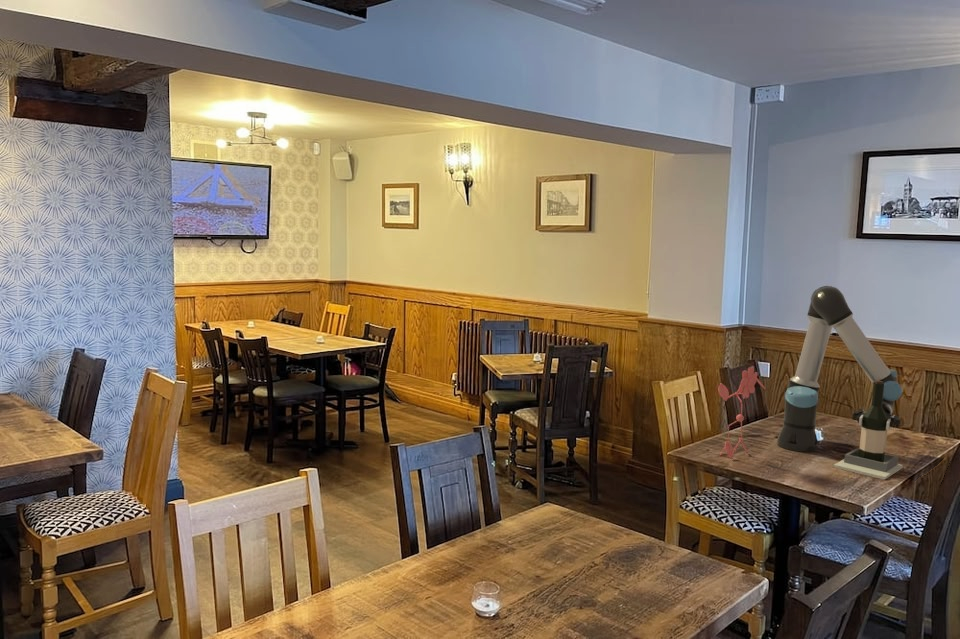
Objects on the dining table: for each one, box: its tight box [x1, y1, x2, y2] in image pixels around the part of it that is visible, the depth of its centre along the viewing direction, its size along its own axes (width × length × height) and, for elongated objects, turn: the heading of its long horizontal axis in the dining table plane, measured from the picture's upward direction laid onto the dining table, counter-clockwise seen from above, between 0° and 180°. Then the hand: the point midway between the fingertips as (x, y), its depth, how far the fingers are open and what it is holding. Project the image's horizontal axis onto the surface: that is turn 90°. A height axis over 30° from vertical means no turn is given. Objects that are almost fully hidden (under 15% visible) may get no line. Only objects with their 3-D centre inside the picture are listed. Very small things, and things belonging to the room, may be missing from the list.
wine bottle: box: [859, 381, 888, 463], centre depth 261 cm, size 8×8×30 cm
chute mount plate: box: [833, 447, 904, 481], centre depth 261 cm, size 21×17×4 cm
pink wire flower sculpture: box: [709, 365, 767, 460], centre depth 265 cm, size 15×26×35 cm, turn 130°
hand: (873, 423), depth 257 cm, fingers closed on wine bottle, 8 cm apart
